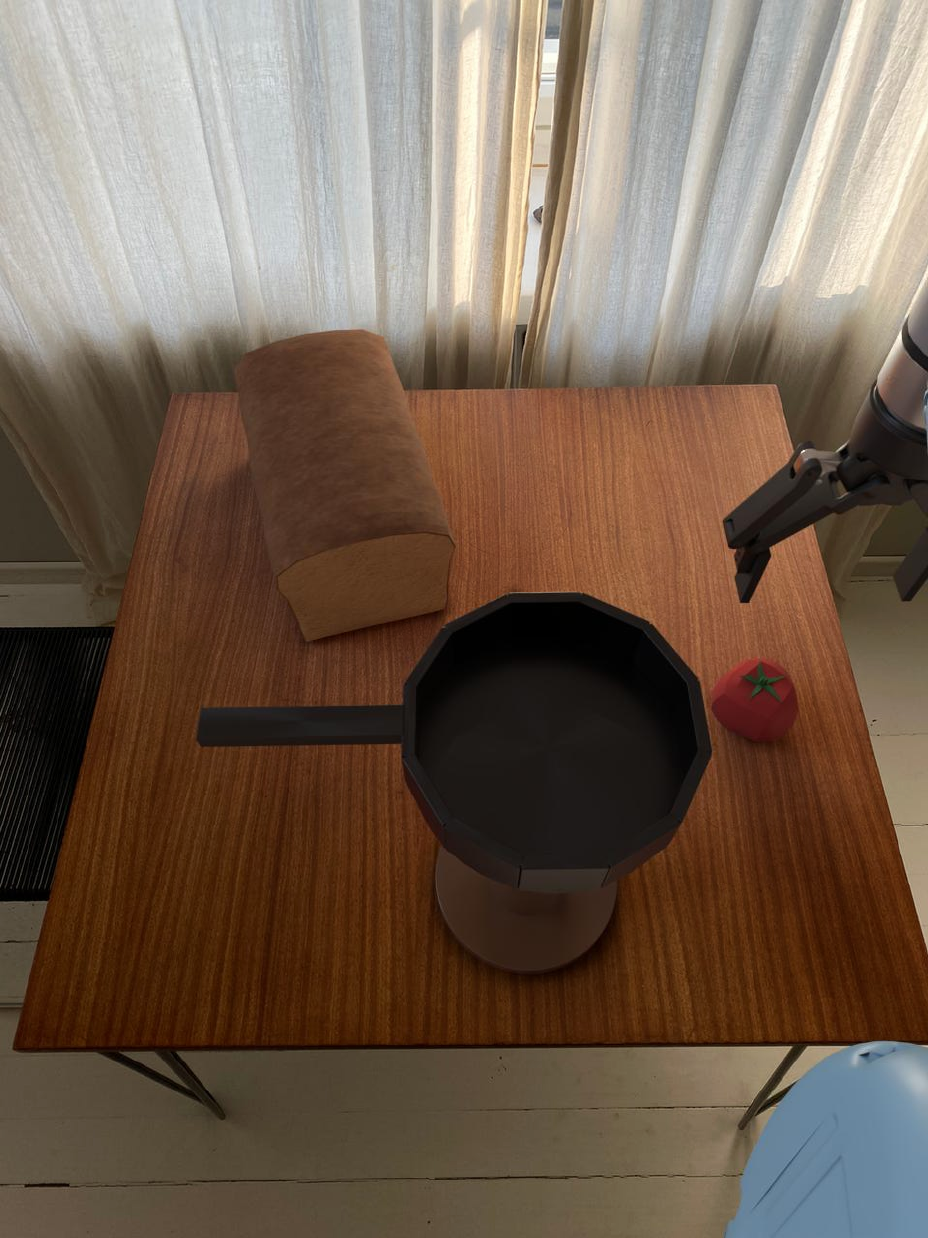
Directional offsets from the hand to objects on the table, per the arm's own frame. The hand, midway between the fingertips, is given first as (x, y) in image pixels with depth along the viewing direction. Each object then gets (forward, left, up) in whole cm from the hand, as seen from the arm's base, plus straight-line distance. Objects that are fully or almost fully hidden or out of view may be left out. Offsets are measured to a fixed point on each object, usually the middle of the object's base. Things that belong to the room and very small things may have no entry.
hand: (821, 589), depth 74 cm
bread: (+22, +43, -17) cm, 51 cm away
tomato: (-3, +2, -17) cm, 18 cm away
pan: (-19, +31, -17) cm, 40 cm away
